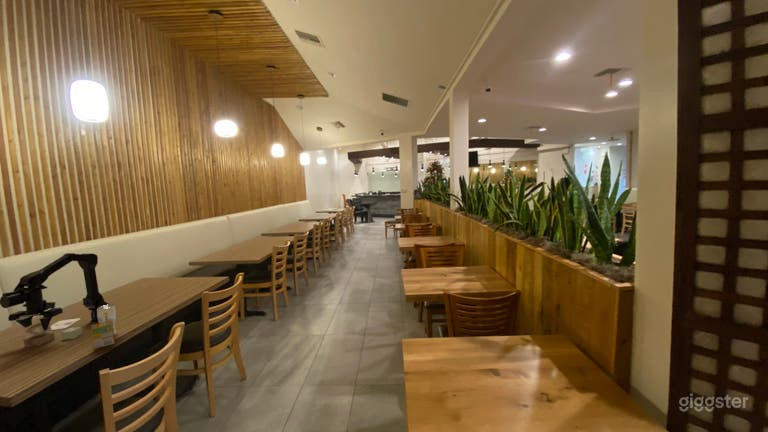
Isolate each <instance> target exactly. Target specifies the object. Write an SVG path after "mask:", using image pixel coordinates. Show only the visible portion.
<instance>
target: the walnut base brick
mask: <svg viewBox="0 0 768 432" xmlns="http://www.w3.org/2000/svg"><path fill="white" fill-rule="evenodd" d="M54 340H56V338H55V332H50V331H48V332H45V333H43V334H41V335H35V336H28V337H26V338H23V345H24V348H34V347H41V346H44V345H45V344H48V343H49V342H52V341H54Z"/></svg>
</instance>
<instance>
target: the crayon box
mask: <svg viewBox="0 0 768 432" xmlns="http://www.w3.org/2000/svg"><path fill="white" fill-rule="evenodd" d="M105 323H106V324H105ZM100 324H105V325H100ZM91 335H92V342H93V349H95V350H96V349H98V348H102V347H106V346H110V345H111V346H112V345H115V343H116V340H115V335H114V330H113V323H112V321H108V322H103V323H99V322H98V323H94V324H91Z"/></svg>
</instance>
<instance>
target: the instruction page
mask: <svg viewBox="0 0 768 432" xmlns="http://www.w3.org/2000/svg"><path fill="white" fill-rule="evenodd" d="M81 319H82V318H81V317H80V318H79V317H78V318H71V319H64V320H63V319H62V320H59V321H57V322H55V323H53V324H52V325H51V330H49V331H48V332H50V331H55V330H56V331H57V330H64V329H68V327H70V326H71V325H73V324H75V323H76V322H78V321H80V320H81Z"/></svg>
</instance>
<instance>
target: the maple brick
mask: <svg viewBox="0 0 768 432" xmlns="http://www.w3.org/2000/svg"><path fill="white" fill-rule="evenodd" d="M51 326H52V325H51V322H50V323H49V326H48V329H47V330H45V331H44V329H43V327H42V324H41V322H35V323H32V325H31V326H29V327H26V328H25V327H23V328H24V336H25V337H31V336H35V335H41V334H43V333H48V332H50V331H52V330H51ZM49 330H50V331H49Z"/></svg>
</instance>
